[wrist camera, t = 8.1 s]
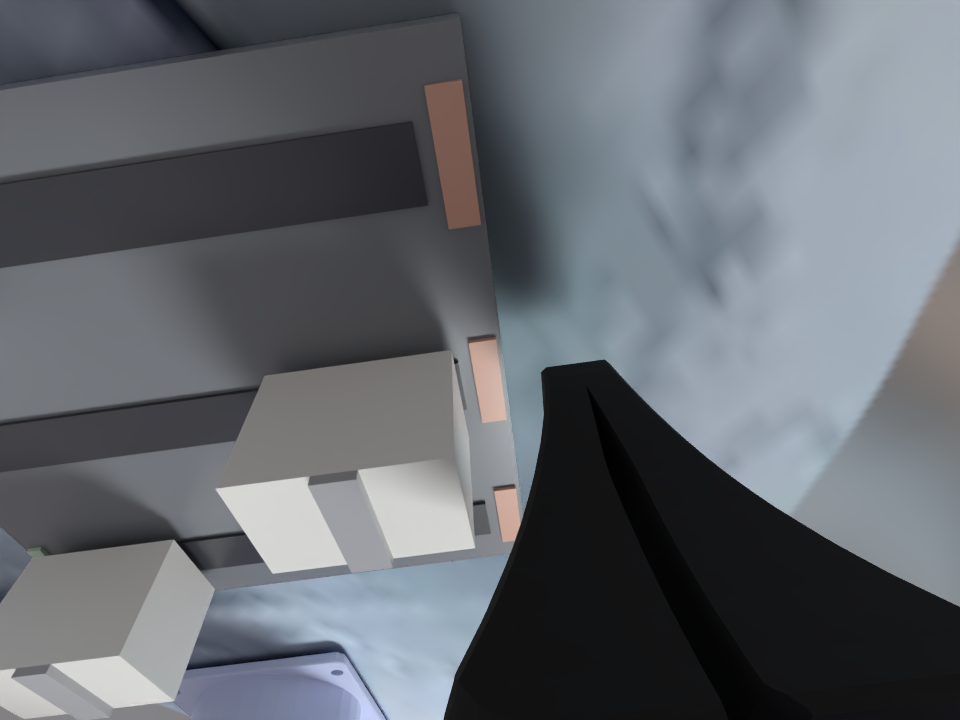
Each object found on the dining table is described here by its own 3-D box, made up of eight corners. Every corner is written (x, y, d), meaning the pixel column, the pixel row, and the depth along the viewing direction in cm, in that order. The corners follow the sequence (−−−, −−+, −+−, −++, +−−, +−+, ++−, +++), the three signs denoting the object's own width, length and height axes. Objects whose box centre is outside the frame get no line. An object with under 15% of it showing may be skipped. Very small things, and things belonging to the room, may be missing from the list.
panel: (522, 518, 17) (527, 554, 16) (110, 571, 18) (89, 609, 16) (458, 12, 9) (460, 17, 8) (-332, 136, 9) (-432, 158, 8)
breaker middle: (468, 436, 12) (475, 557, 10) (304, 458, 13) (270, 583, 10) (451, 349, 11) (454, 466, 8) (264, 375, 11) (210, 498, 8)
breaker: (215, 589, 16) (171, 709, 13) (86, 605, 16) (18, 727, 13) (174, 539, 14) (114, 665, 12) (31, 557, 14) (-58, 686, 12)
